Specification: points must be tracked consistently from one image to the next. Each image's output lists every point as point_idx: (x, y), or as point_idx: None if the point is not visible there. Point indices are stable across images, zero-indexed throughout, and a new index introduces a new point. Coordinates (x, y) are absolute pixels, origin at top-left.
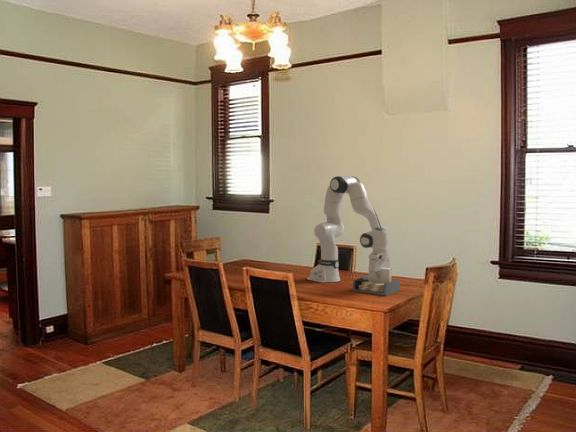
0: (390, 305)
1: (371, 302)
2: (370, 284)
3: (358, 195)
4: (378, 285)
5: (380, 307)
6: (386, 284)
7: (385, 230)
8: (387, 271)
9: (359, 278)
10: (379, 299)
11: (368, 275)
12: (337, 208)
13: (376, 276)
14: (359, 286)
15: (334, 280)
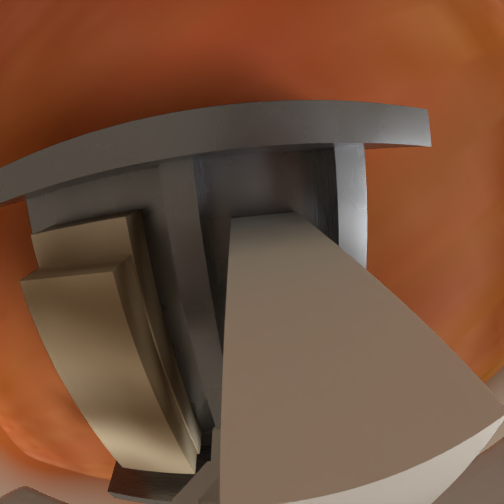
0: (56, 464)
1: (11, 410)
2: (70, 384)
3: None
4: (107, 443)
5: (17, 443)
6: (120, 495)
7: None
8: None
9: (34, 191)
10: (62, 425)
11: (228, 272)
12: None
13: (212, 444)
14: (38, 241)
15: None
